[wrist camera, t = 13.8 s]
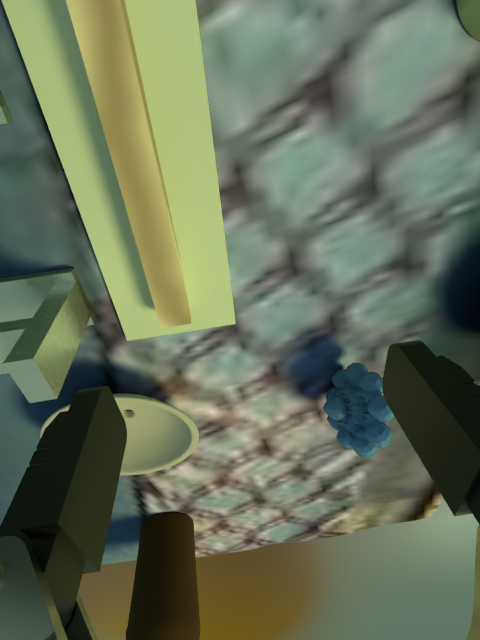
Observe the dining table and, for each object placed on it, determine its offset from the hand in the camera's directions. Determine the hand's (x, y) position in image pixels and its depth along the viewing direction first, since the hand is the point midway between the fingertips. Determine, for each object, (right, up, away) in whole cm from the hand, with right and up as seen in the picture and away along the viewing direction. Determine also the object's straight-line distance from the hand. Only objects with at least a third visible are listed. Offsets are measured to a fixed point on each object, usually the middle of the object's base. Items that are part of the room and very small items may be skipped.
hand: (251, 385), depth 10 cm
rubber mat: (-8, +13, +19) cm, 25 cm away
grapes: (+12, -5, +35) cm, 38 cm away
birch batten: (-8, +13, +19) cm, 24 cm away
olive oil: (-14, -36, +52) cm, 65 cm away
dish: (-15, -9, +34) cm, 38 cm away
